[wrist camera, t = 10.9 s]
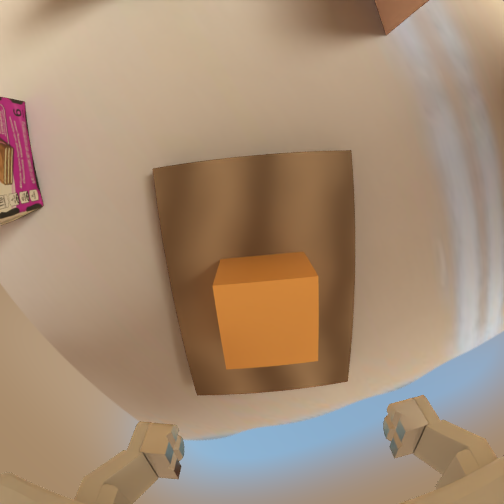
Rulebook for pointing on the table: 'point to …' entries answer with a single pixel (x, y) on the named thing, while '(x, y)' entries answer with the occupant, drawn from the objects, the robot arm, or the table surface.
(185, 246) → the base plate
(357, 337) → the table surface
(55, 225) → the table surface
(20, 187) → the candy bar box
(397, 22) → the greeting card
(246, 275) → the orange wooden cube
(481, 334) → the table surface
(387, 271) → the table surface
